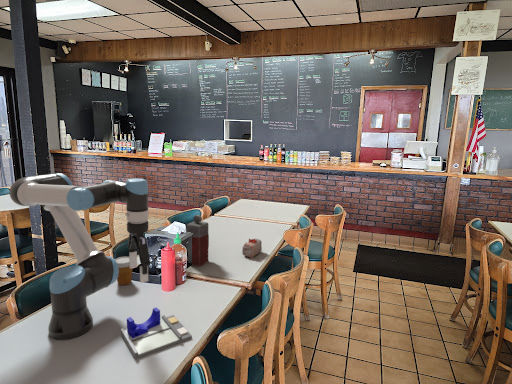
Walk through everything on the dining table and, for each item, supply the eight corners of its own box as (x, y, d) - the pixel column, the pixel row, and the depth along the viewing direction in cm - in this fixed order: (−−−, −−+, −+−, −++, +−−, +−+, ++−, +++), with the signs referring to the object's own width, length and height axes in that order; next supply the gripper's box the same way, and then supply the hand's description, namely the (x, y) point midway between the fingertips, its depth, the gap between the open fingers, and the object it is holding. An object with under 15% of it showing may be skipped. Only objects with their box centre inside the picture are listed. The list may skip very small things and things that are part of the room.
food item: (253, 259, 207) (253, 243, 205) (241, 256, 210) (241, 241, 208) (262, 252, 219) (263, 237, 217) (251, 249, 222) (251, 235, 220)
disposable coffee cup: (126, 276, 179) (124, 254, 177) (138, 281, 175) (137, 258, 172) (110, 283, 171) (108, 260, 169) (122, 288, 166) (121, 265, 164)
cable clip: (132, 338, 127) (132, 323, 126) (127, 333, 130) (126, 318, 129) (162, 325, 135) (162, 311, 134) (156, 321, 138) (156, 307, 137)
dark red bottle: (210, 259, 204) (210, 213, 199) (199, 266, 194) (199, 218, 189) (198, 256, 208) (197, 211, 202) (186, 263, 198) (186, 215, 193)
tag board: (121, 334, 132) (120, 328, 131) (173, 317, 144) (173, 312, 143) (135, 359, 118) (135, 353, 118) (191, 338, 130) (191, 332, 130)
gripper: (118, 213, 136) (119, 264, 140) (137, 232, 116) (138, 290, 121) (137, 211, 140) (138, 260, 145) (159, 229, 120) (159, 285, 125)
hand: (138, 274), depth 133 cm, fingers open, 13 cm apart
